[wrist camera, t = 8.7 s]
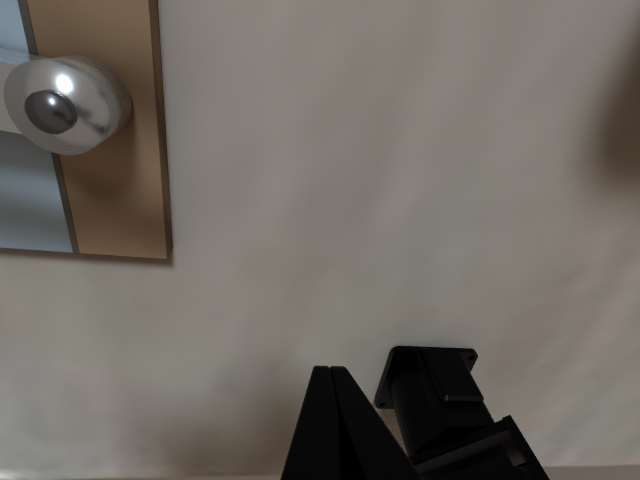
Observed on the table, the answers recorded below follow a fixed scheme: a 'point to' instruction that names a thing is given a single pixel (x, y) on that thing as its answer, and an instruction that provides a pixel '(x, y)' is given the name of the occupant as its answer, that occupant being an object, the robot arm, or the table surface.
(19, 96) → the latch bar
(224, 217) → the table surface
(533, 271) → the table surface
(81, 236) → the door panel
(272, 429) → the table surface
